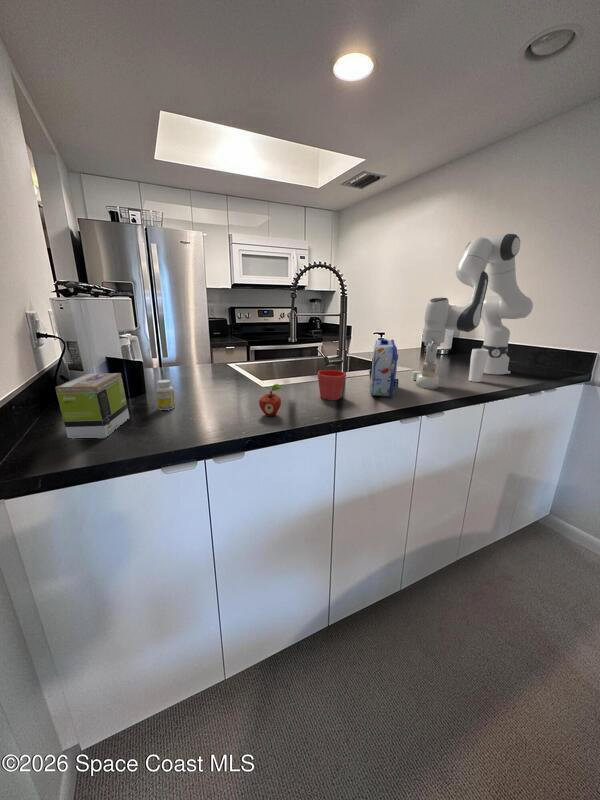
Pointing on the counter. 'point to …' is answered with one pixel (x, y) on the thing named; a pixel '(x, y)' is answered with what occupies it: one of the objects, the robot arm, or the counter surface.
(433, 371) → the maple cube
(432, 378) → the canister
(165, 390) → the supplement bottle
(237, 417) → the counter surface
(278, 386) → the apple
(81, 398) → the tea box
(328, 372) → the flower pot
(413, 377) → the sage block
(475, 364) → the white tall block
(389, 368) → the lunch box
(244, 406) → the counter surface
